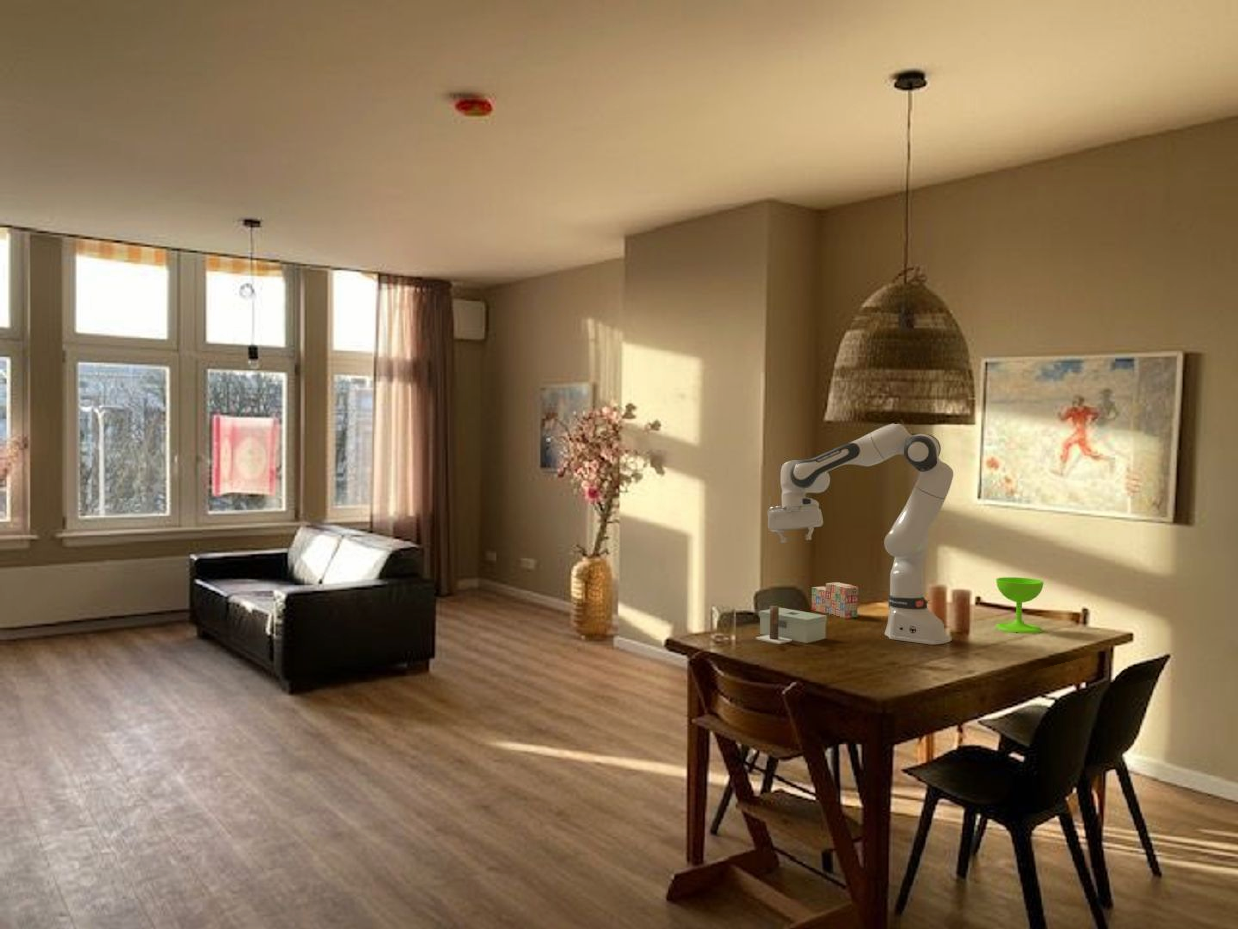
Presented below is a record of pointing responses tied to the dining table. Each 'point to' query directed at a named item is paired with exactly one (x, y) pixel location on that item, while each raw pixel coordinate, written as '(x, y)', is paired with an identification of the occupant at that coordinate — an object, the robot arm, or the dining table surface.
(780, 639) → the felt mat
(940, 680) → the dining table surface
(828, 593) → the stack of blocks
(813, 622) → the pale green lidded box
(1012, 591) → the wineglass
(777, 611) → the walnut key
